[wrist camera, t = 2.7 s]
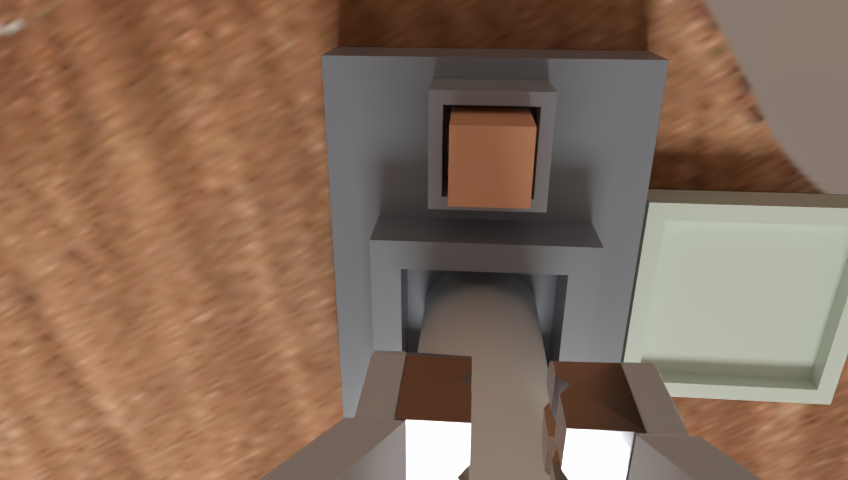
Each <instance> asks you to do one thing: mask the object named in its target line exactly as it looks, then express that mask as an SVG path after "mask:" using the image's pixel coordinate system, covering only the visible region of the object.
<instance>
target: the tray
mask: <svg viewBox="0 0 848 480" xmlns="http://www.w3.org/2000/svg"><path fill="white" fill-rule="evenodd" d="M847 354H848V195H840V194H806V193H770V192H734V191H698V190H662V189H648V194H647V201H646V207H645V213H644V219H643V226H642V232H641V238H640V244H639V251H638V257H637V263H636V269H635V276H634V282H633V288H632V294H631V301H630V307H629V313H628V319H627V326H626V332H625V338H624V344H623V351H622V357H621V362H636V363H652V364H654V365H655V366H656V367H657V369H658V371H659V373H660V375H661V377H662V379H663V381H664V383H665V386H666V388H667V390H668V392H669V394H670V396H672V397H691V398H711V399H731V400H751V401H771V402H791V403H810V404H831V401H832V398H833V395H834V393H835V390H836V387H837V384H838V381H839V378H840V375H841V372H842V369H843V366H844V363H845V360H846V357H847Z"/></svg>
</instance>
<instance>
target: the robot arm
mask: <svg viewBox="0 0 848 480" xmlns="http://www.w3.org/2000/svg"><path fill="white" fill-rule="evenodd" d="M471 379H472V356H461V355H446V354H431V353H416V352H408V353H406V352H403V351H379V350H375V351H374V353H373V354H372V355H371V359H370V362H369V366H368V370H367V373H366V377H365V381H364V384H363V388H362V392H361V395H360V399H359V403H358V406H357V410H356V414H355V417H354V418H343V419H342V420H341V421H339V422H338V423H337V424H335V425H334V426H332V427H331V428H330V429H328V430H327V431H326V432H324V433H323V434H321V435H320V436H319V437H317V438H316V439H315V440H313V441H312V442H311V443H309V444H308V445H306V446H305V447H304V448H302V449H301V450H300V451H298V452H297V453H296V454H294V455H293V456H291V457H290V458H289V459H287V460H286V461H285V462H283V463H282V464H281V465H279V466H278V467H276V468H275V469H274V470H272V471H271V472H270V473H268V474H267V475H265V476H264V477H263V478H261V479H260V480H469V464H470V440H471V401H472V390H471ZM546 384H547V391H548V397H549V403H548V404H547V405H546V406H545V407H544V412H543V425H542V450H543V461H544V469H545V472H546V473H547V474H548V475H549V476H550V480H762V479H760V478H759V477H758V476H756V475H755V474H753V473H752V472H750V471H749V470H747V469H746V468H745V467H743V466H742V465H740V464H739V463H737V462H736V461H734V460H733V459H732V458H730V457H729V456H727V455H726V454H724V453H723V452H721V451H720V450H719V449H717V448H716V447H714V446H713V445H711V444H710V443H709V442H707V441H706V440H704V439H703V438H701V437H694V436H689V434H688V432H687V429H686V427H685V425H684V423H683V421H682V419H681V417H680V415H679V413H678V411H677V409H676V406H675V404H674V402H673V400H672V398H671V396H670V394H669V392H668V390H667V388H666V386H665V383H664V381H663V379H662V377H661V375H660V373H659V371H658V369H657V367H656V366H655V365H654V364H652V363H636V362H617V363H606V362H573V361H550V363H549V367H548V374H547V382H546Z"/></svg>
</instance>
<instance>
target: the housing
mask: <svg viewBox="0 0 848 480" xmlns="http://www.w3.org/2000/svg"><path fill="white" fill-rule="evenodd" d="M321 58H322V74H323V90H324V106H325V123H326V139H327V155H328V171H329V187H330V204H331V220H332V236H333V252H334V269H335V285H336V301H337V317H338V333H339V350H340V366H341V382H342V398H343V415H344V418H354V417H355V414H356V410H357V406H358V403H359V399H360V395H361V392H362V388H363V384H364V381H365V377H366V373H367V370H368V366H369V362H370V359H371V355H372V354H373V353H374V351H375V350H379V351H403V352H406V353H408V352H416V353H418V346H419V339H420V333H421V326H422V320H423V313H424V306H425V300H426V297H427V294H428V292H429V290H430V288H431V286H432V285H433V283H434V282H435V281H436V280H437V279H438V278H439V277H440V276H441V275H442V274H443V273H445V272H446V271H470V272H497V273H517V274H518V275H519V276H520V277H521V278H522V279H524V281H525V282H526V283H527V284H528V286H529V287H530V289H531V291H532V293H533V295H534V298H535V302H536V307H537V312H538V318H539V323H540V329H541V334H542V340H543V345H544V350H545V356H546V361H547V367H549V363H550V361H573V362H606V363H617V362H621V357H622V351H623V344H624V338H625V332H626V326H627V319H628V313H629V307H630V301H631V294H632V288H633V282H634V276H635V269H636V263H637V257H638V251H639V244H640V238H641V232H642V226H643V219H644V213H645V207H646V201H647V194H648V188H649V182H650V176H651V169H652V163H653V157H654V151H655V144H656V138H657V132H658V126H659V119H660V113H661V107H662V101H663V94H664V88H665V82H666V76H667V69H668V63H669V60H668V59H665V58H663V57H661V56H659V55H656V54H654V53H652V52H650V51H631V50H551V49H471V48H392V47H336V48H334V49H332V50H331V51H329V52H327V53H325V54H323V55H321ZM452 107H504V108H529V109H530V111H531V114H532V116H533V119H534V121H535V124H536V126H537V130H536V143H535V155H534V168H533V181H532V193H531V206H530V209H522V208H489V207H456V206H448V164H449V124H450V118H451V112H452Z"/></svg>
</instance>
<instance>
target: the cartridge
mask: <svg viewBox="0 0 848 480" xmlns="http://www.w3.org/2000/svg"><path fill="white" fill-rule="evenodd" d="M418 353H431V354H446V355H461V356H472V379H471V390H472V401H471V440H470V464H469V480H550V476H549V475H548V474H547V473H546V472H545V469H544V461H543V450H542V425H543V412H544V407H545V406H546V405H547V404H548V403H549V397H548V391H547V384H546V382H547V374H548V367H547V361H546V356H545V350H544V345H543V340H542V334H541V329H540V323H539V318H538V312H537V307H536V302H535V298H534V295H533V293H532V291H531V289H530V287H529V286H528V284H527V283H526V282H525V281H524V279H522V278H521V277H520V276H519V275H518V274H517V273H497V272H470V271H446V272H445V273H443V274H442V275H441V276H440V277H439V278H438V279H437V280H436V281H435V282H434V283H433V285H432V286H431V288H430V290H429V292H428V294H427V297H426V300H425V306H424V313H423V320H422V326H421V333H420V339H419V346H418Z"/></svg>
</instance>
